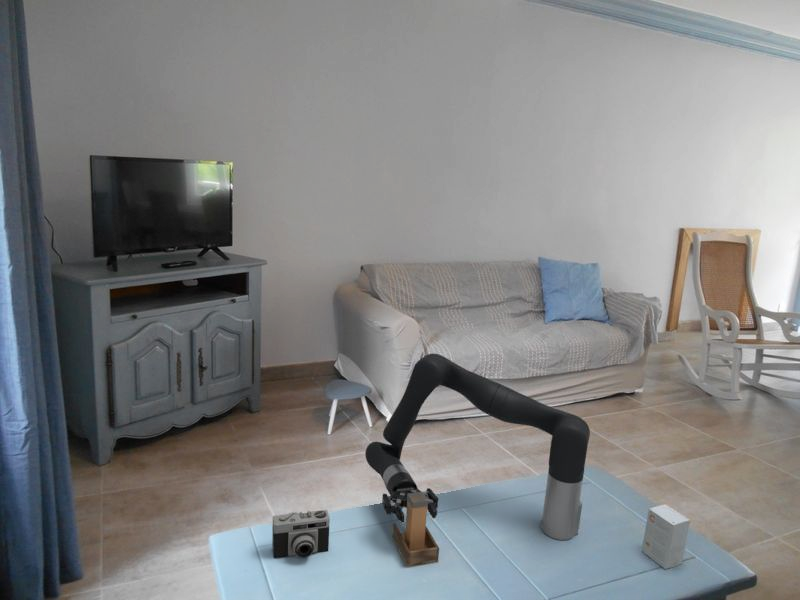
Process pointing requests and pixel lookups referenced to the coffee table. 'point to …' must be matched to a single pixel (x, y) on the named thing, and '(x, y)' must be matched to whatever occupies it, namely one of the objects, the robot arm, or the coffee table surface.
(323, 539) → the camera
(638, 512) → the coffee table surface
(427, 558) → the walnut box
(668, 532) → the small box
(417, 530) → the brown tall square block
